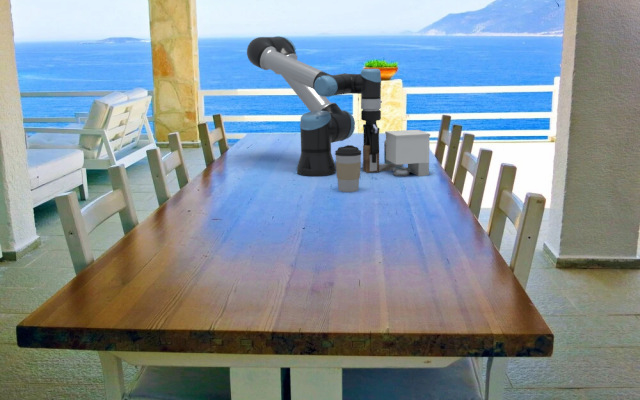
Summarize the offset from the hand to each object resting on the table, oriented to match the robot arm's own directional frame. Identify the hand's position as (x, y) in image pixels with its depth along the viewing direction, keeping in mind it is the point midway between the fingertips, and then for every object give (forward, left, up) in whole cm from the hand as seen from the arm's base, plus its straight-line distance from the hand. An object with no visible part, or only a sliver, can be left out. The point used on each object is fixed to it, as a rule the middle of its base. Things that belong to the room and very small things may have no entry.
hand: (371, 169), depth 269 cm
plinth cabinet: (+11, -9, -1) cm, 15 cm away
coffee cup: (-17, -30, -1) cm, 34 cm away
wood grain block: (+5, 0, -1) cm, 5 cm away
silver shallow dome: (+9, -10, -1) cm, 13 cm away
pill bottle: (+11, +6, -1) cm, 13 cm away
